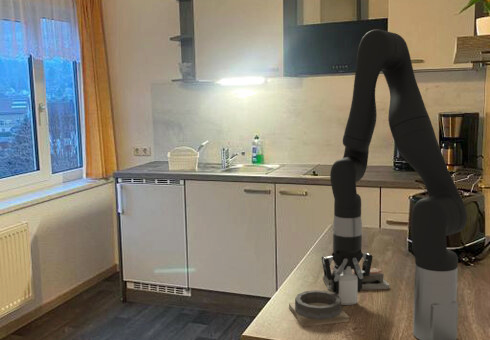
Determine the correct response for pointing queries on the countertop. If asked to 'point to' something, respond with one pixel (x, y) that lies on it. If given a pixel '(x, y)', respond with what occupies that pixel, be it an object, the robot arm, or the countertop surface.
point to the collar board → (318, 308)
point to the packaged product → (367, 280)
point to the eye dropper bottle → (348, 287)
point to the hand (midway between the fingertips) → (346, 291)
